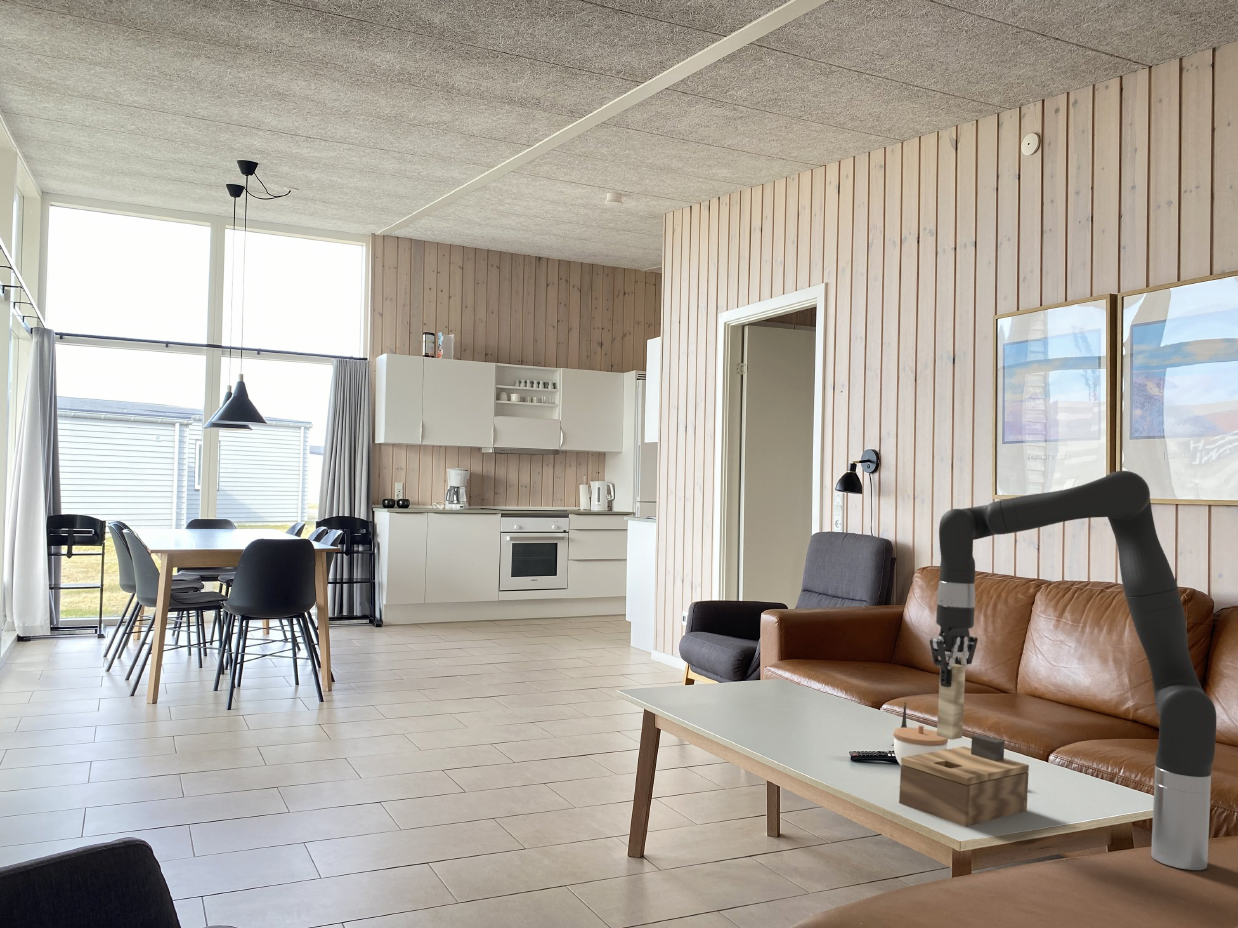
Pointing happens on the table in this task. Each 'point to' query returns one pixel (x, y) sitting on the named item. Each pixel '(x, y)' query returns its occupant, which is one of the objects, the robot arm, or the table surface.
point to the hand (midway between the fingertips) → (951, 685)
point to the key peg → (951, 705)
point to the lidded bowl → (917, 742)
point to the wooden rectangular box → (963, 796)
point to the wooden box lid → (968, 762)
